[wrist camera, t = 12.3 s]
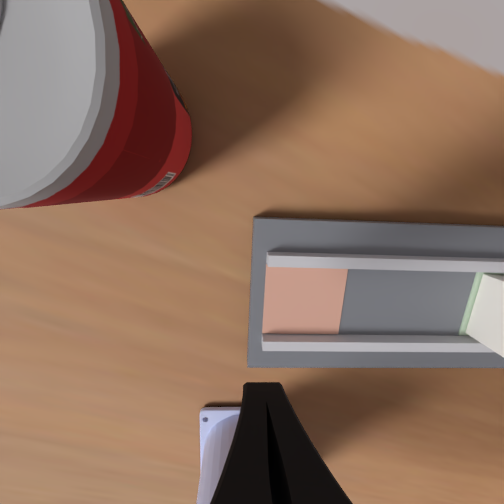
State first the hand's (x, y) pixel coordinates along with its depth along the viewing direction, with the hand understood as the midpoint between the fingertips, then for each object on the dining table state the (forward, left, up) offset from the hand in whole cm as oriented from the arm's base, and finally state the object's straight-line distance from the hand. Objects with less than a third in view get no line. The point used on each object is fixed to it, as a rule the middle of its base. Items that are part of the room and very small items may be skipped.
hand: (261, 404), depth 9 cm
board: (0, -13, -10) cm, 17 cm away
